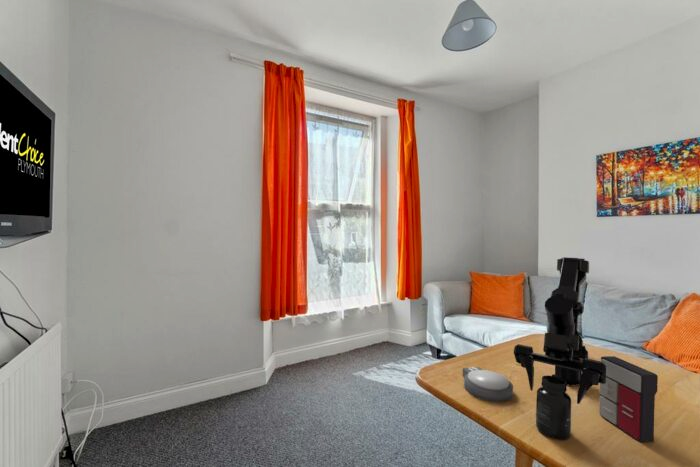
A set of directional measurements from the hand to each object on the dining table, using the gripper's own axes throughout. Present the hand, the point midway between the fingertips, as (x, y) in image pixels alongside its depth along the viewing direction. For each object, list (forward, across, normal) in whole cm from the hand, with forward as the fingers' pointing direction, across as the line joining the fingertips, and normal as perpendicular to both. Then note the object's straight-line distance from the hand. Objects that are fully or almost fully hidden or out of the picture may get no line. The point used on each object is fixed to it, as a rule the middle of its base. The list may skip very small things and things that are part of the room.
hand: (553, 396), depth 75 cm
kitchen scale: (-3, -19, +14) cm, 23 cm away
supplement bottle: (+6, 0, +6) cm, 8 cm away
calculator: (-3, +13, +15) cm, 20 cm away
